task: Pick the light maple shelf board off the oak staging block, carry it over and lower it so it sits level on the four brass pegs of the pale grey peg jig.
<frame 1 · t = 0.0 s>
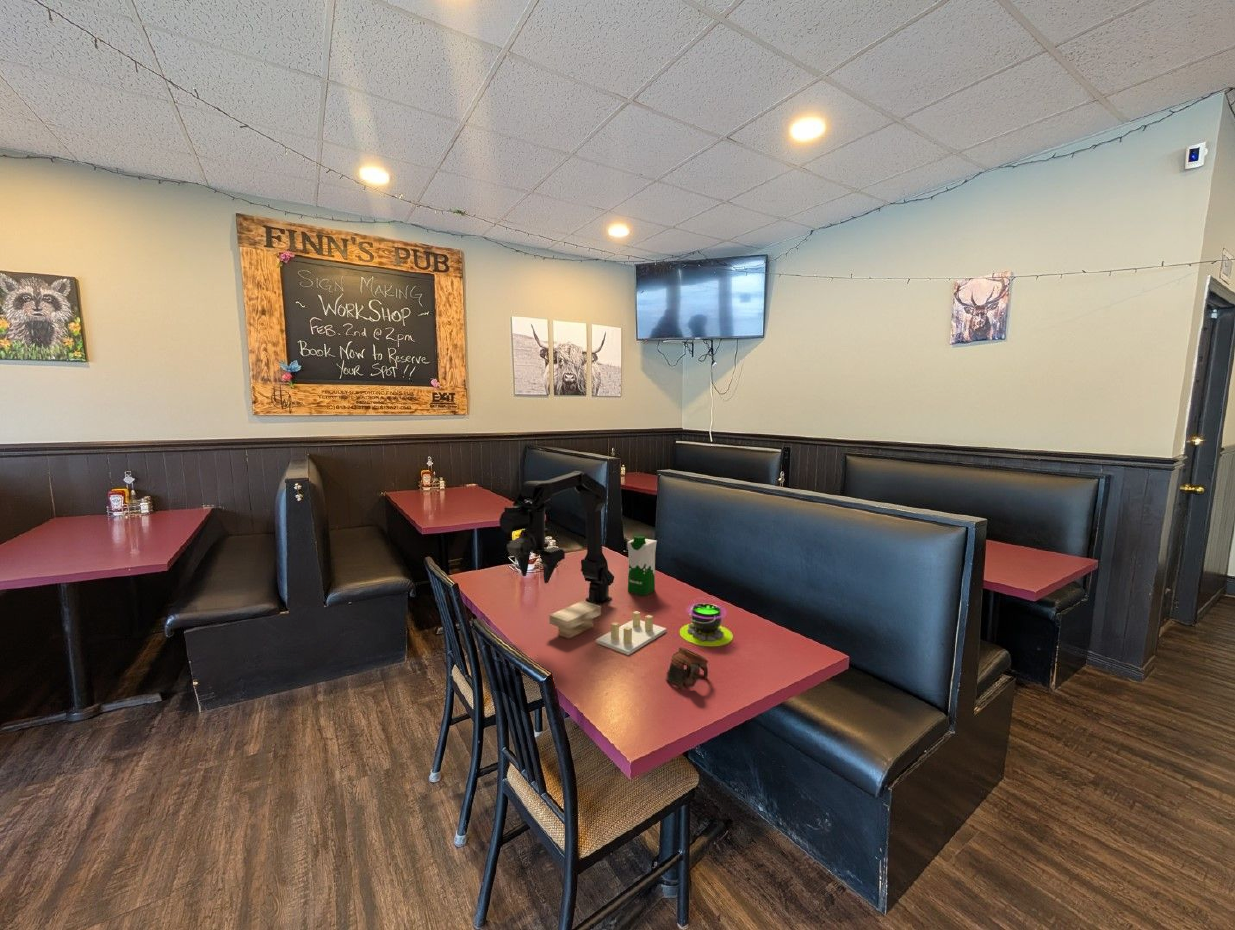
hand: (535, 579, 145), 15 cm above the table, fingers open, 9 cm apart
board: (575, 618, 145), point 3 cm above the table, touching staging block
pottery mug: (687, 682, 119), on the table
peg frame: (632, 637, 141), on the table
toy cauldron: (705, 635, 144), on the table
milk carton: (641, 591, 177), on the table
staging block: (575, 630, 145), on the table
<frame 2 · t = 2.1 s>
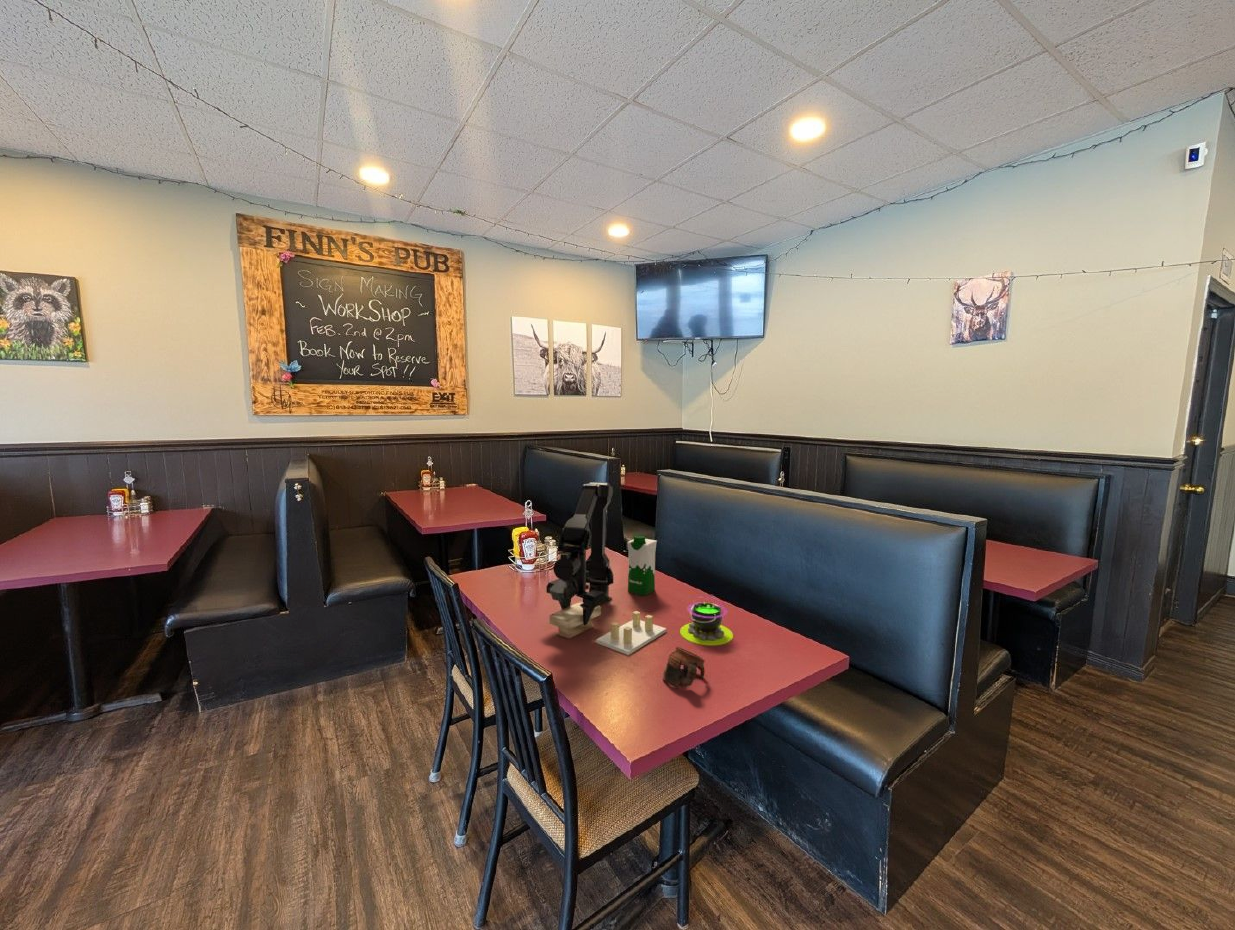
hand: (575, 621, 145), 3 cm above the table, fingers closed on board, 7 cm apart
board: (575, 618, 145), point 3 cm above the table, touching gripper, staging block
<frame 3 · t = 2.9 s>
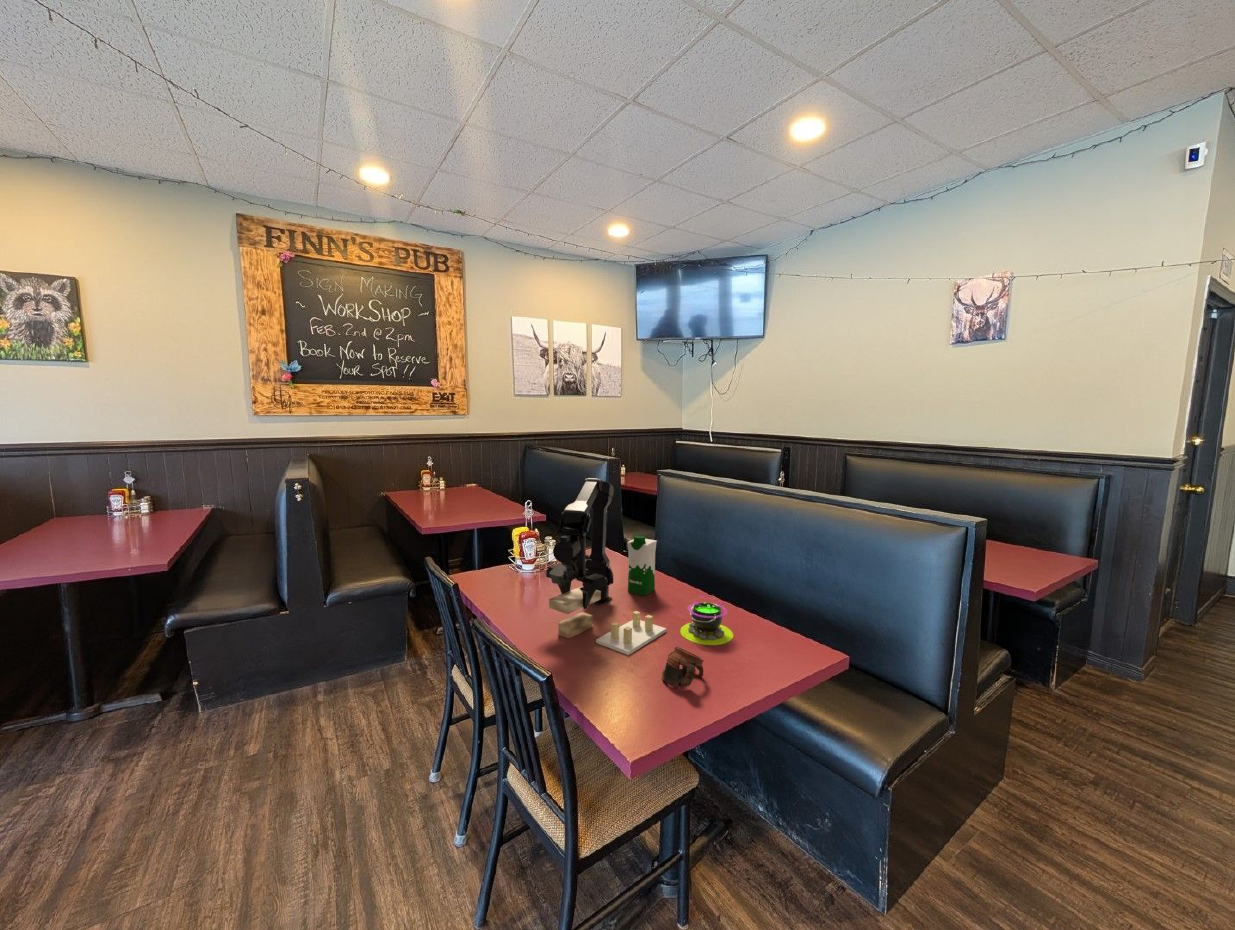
hand: (575, 605, 144), 8 cm above the table, fingers closed on board, 7 cm apart
board: (575, 603, 144), point 8 cm above the table, touching gripper
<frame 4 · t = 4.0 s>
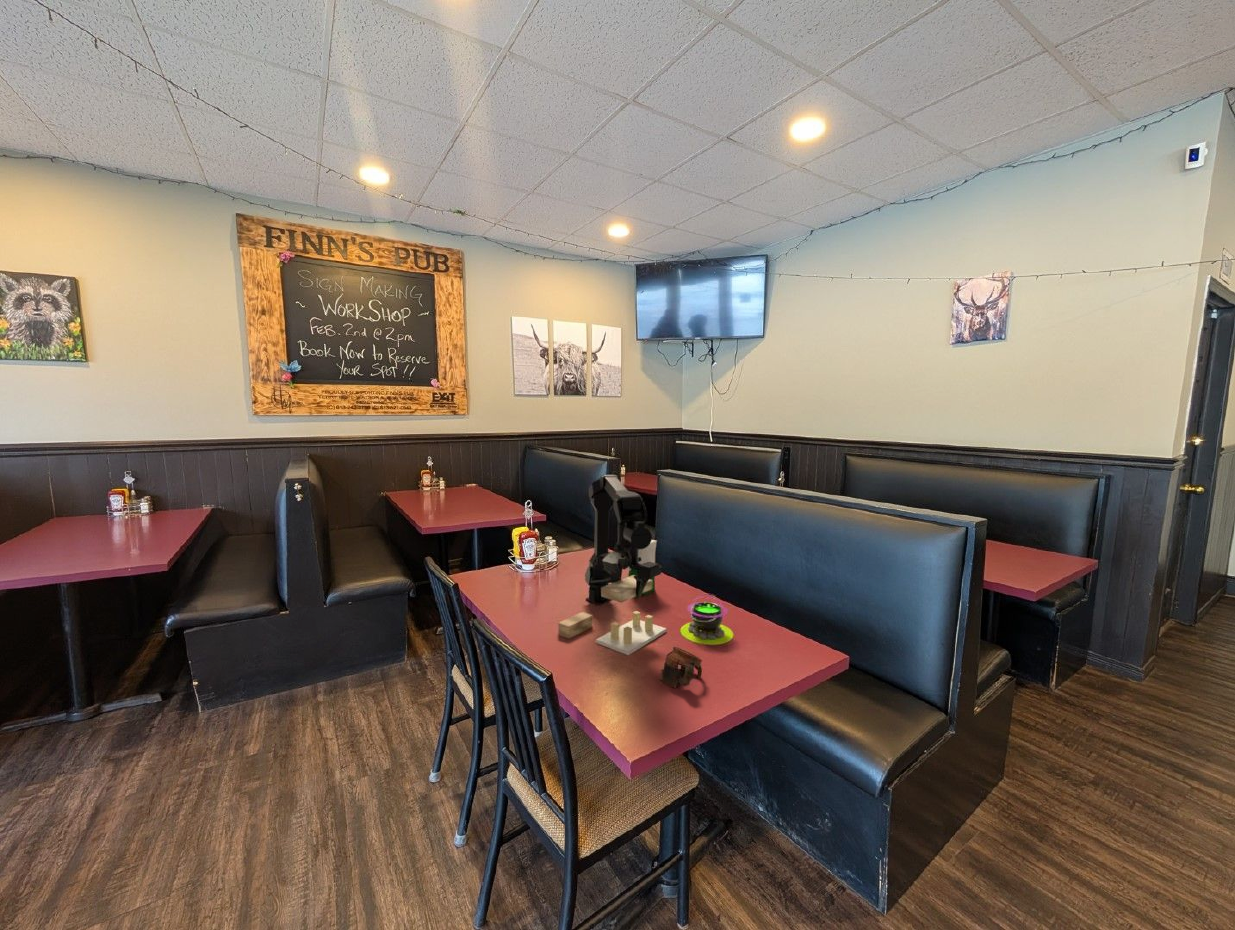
hand: (627, 594, 140), 12 cm above the table, fingers closed on board, 7 cm apart
board: (627, 592, 140), point 13 cm above the table, touching gripper
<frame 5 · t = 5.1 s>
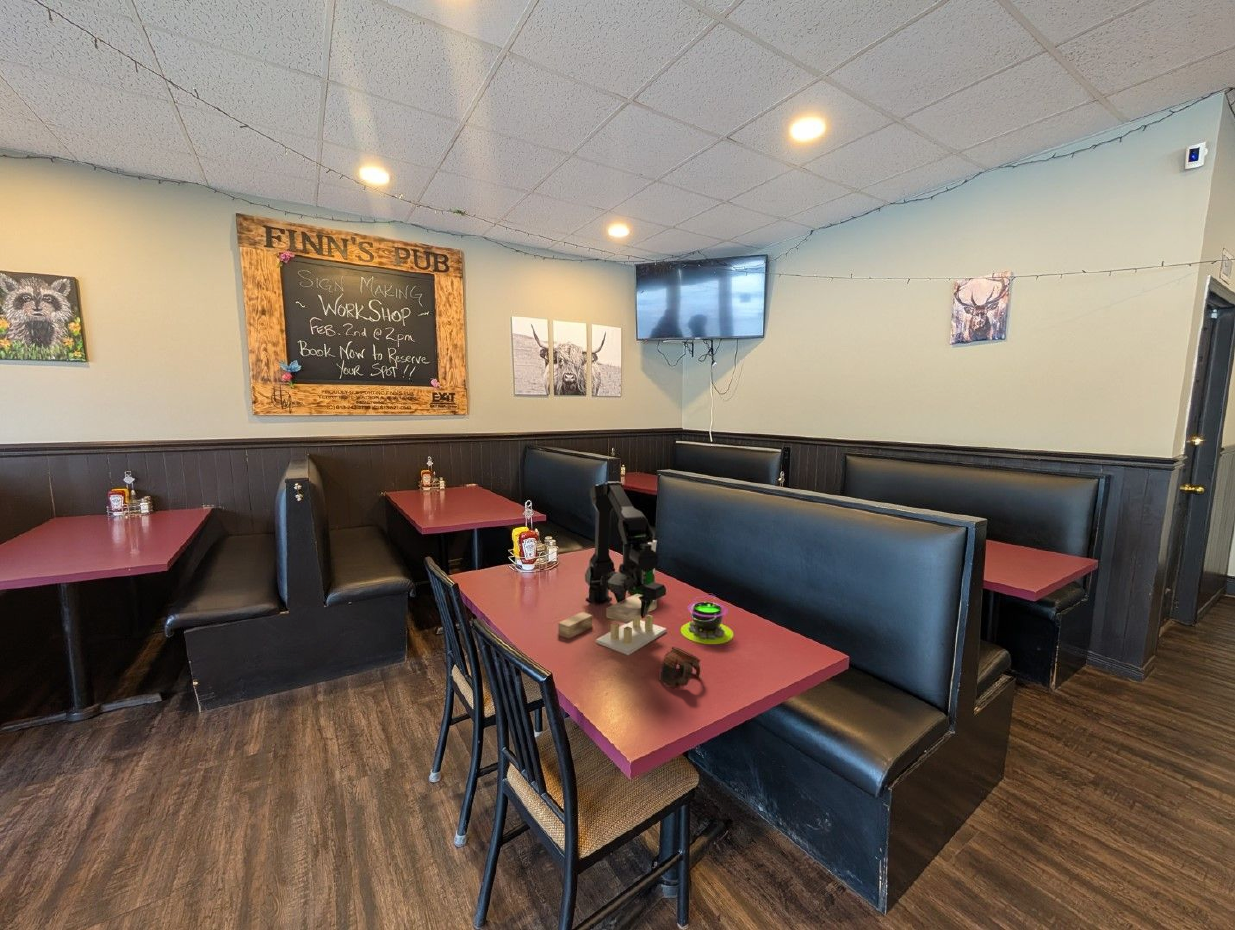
hand: (632, 614, 141), 7 cm above the table, fingers closed on board, 7 cm apart
board: (632, 612, 141), point 7 cm above the table, touching gripper
when the fingers open (5 cm above the table, at t = 5.9 s): board stays where it is, resting on peg frame.
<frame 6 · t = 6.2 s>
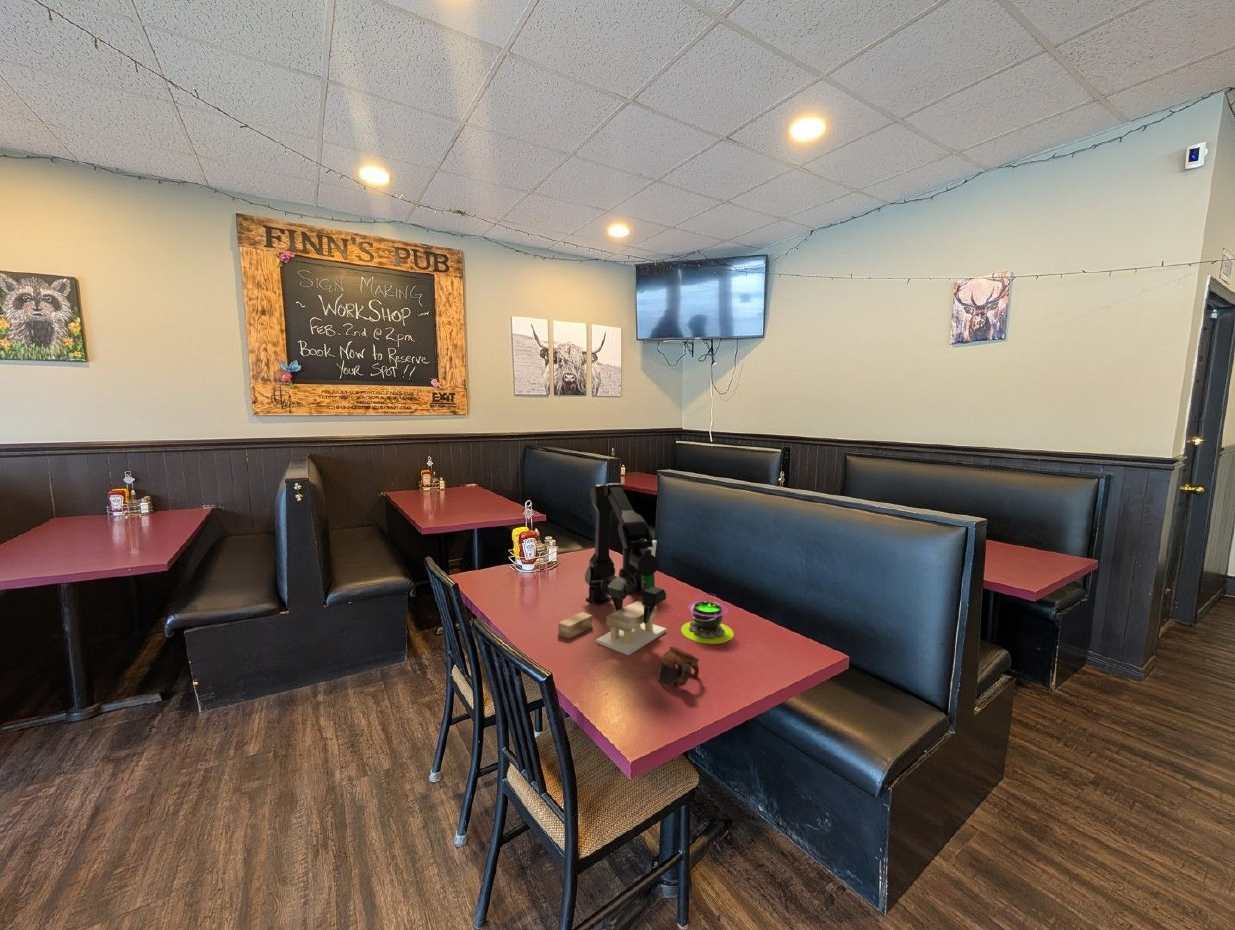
hand: (632, 619, 141), 5 cm above the table, fingers open, 9 cm apart
board: (632, 620, 141), point 5 cm above the table, touching peg frame
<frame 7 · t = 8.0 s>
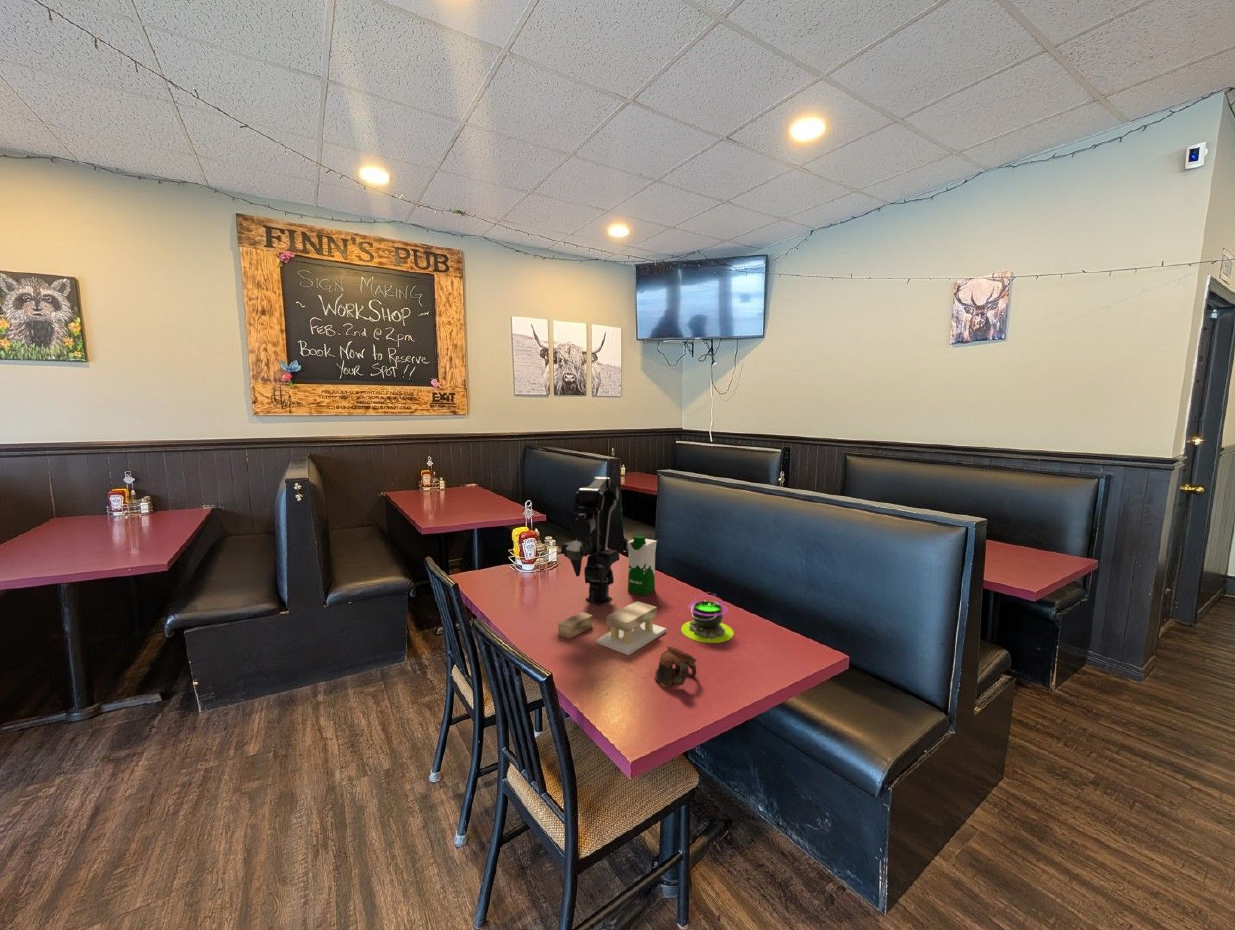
hand: (589, 579, 154), 12 cm above the table, fingers open, 9 cm apart
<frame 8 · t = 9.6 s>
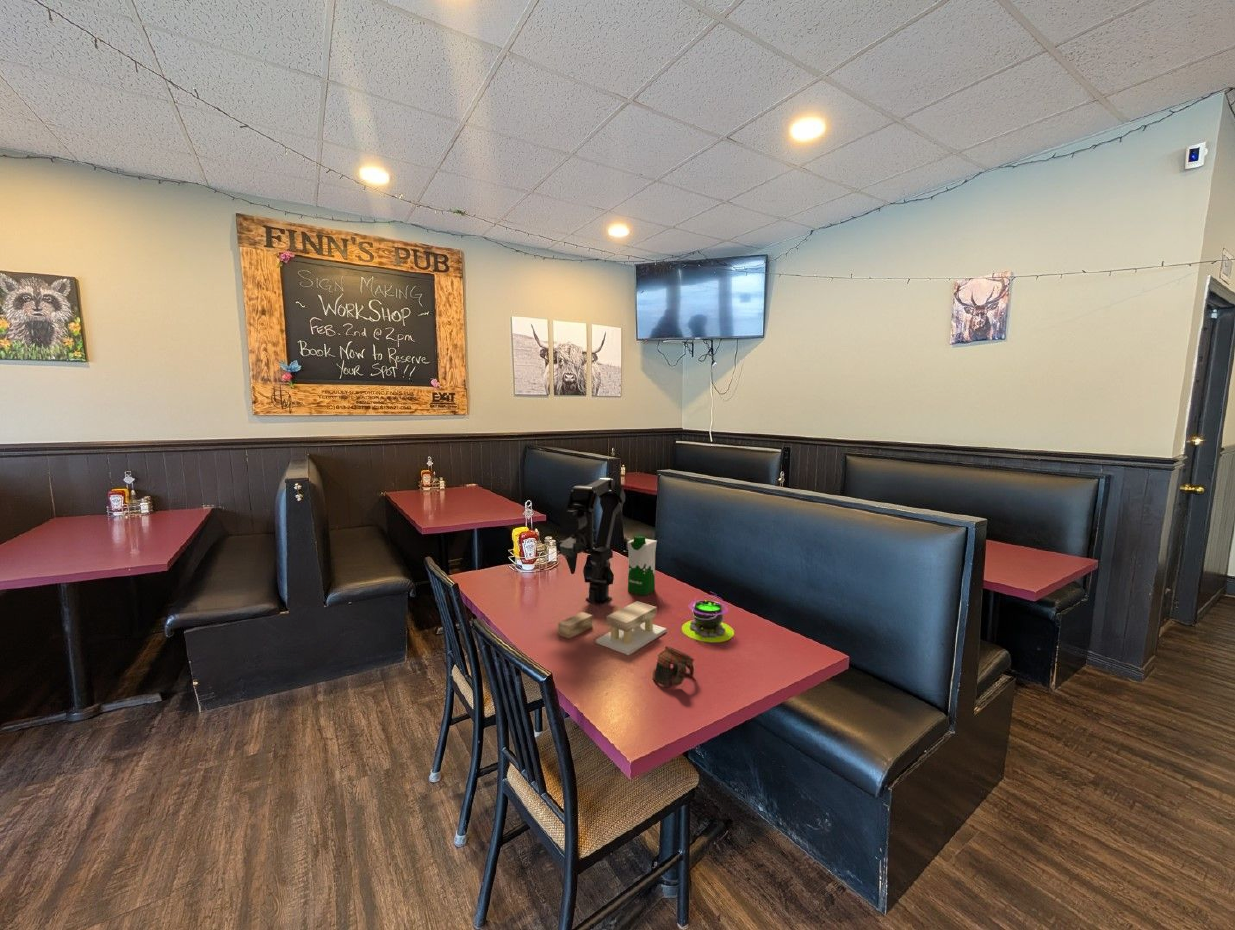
hand: (583, 576, 155), 12 cm above the table, fingers open, 9 cm apart
at the end: board 0.1 cm off-centre on the peg frame, point 5.0 cm above the peg frame's base; board tilted 0°; the gripper is holding nothing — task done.
